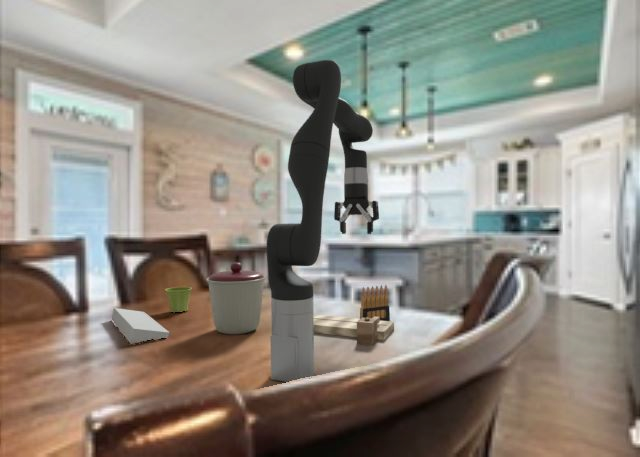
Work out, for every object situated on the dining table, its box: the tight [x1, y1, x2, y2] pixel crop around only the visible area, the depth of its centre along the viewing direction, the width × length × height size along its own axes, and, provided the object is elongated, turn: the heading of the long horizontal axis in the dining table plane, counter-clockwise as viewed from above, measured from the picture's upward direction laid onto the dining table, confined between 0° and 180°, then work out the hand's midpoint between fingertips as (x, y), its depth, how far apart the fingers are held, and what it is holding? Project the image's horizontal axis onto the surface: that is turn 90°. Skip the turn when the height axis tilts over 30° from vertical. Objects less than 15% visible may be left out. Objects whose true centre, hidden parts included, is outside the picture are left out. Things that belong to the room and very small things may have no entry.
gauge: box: [356, 316, 380, 346], centre depth 117 cm, size 12×4×7 cm, turn 156°
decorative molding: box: [110, 307, 170, 343], centre depth 131 cm, size 34×5×10 cm
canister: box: [205, 262, 267, 335], centre depth 127 cm, size 18×18×21 cm
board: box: [314, 314, 395, 341], centre depth 126 cm, size 28×12×2 cm, turn 66°
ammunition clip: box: [359, 284, 391, 321], centre depth 135 cm, size 11×2×12 cm, turn 116°
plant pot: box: [164, 286, 193, 313], centre depth 154 cm, size 9×9×9 cm
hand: (356, 233), depth 131 cm, fingers open, 8 cm apart
